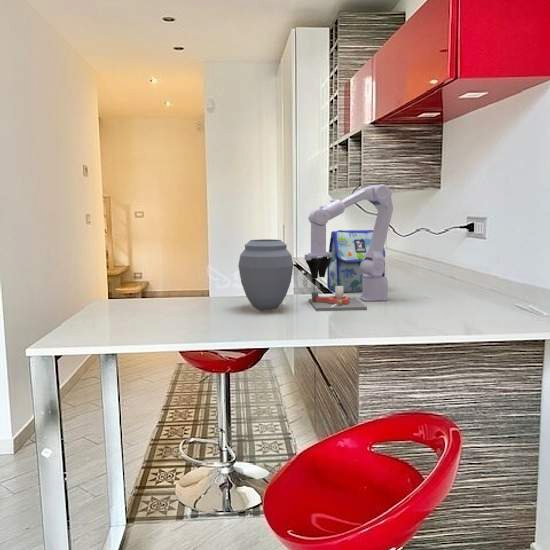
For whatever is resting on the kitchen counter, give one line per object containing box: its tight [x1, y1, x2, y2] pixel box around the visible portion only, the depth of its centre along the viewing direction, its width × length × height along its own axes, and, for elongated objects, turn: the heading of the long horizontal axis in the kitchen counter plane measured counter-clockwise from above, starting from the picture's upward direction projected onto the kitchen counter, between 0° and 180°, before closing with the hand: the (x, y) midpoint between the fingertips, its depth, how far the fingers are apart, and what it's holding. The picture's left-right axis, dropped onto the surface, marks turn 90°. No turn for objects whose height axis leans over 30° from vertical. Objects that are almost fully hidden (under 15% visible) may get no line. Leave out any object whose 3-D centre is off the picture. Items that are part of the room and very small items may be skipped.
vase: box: [238, 239, 294, 311], centre depth 190 cm, size 20×20×24 cm
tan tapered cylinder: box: [337, 300, 342, 306], centre depth 190 cm, size 2×2×2 cm
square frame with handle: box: [311, 292, 351, 304], centre depth 197 cm, size 14×7×3 cm, turn 74°
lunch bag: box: [326, 229, 386, 293], centre depth 229 cm, size 22×17×26 cm
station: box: [308, 286, 368, 312], centre depth 196 cm, size 18×19×7 cm
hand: (318, 277), depth 201 cm, fingers open, 4 cm apart
